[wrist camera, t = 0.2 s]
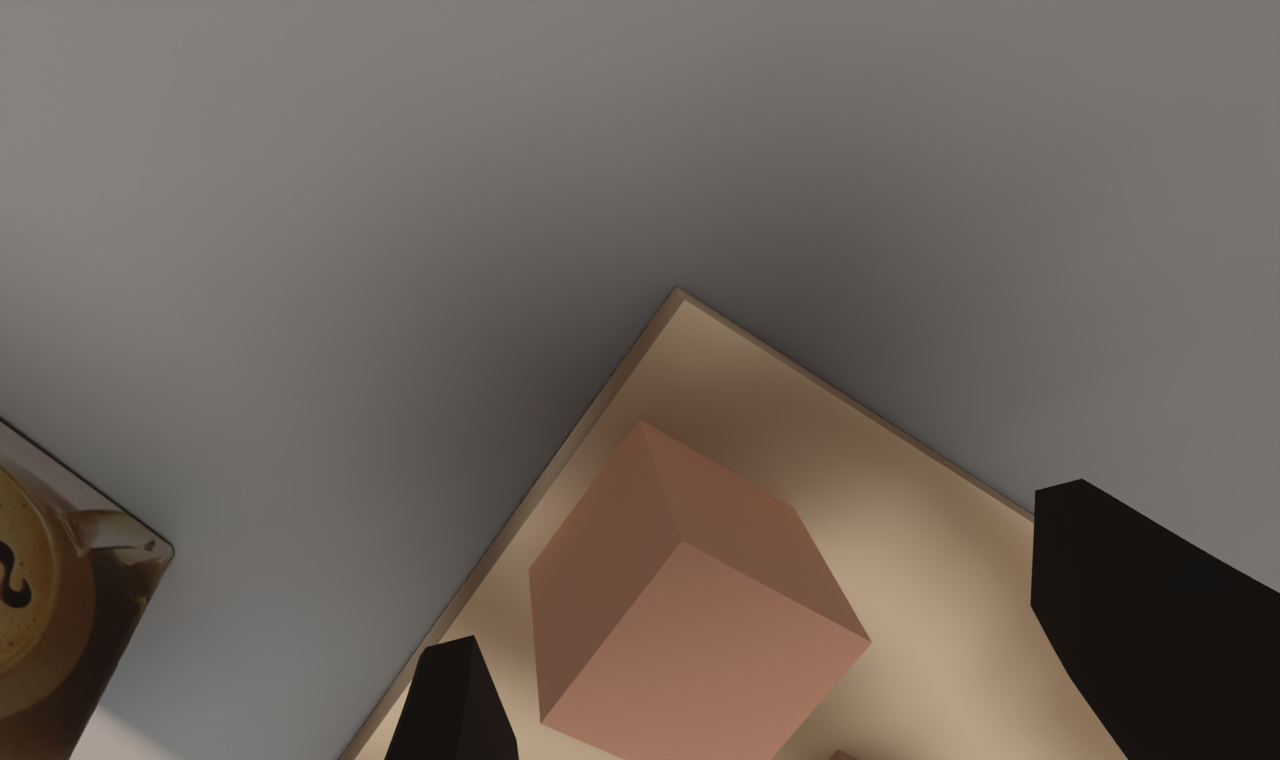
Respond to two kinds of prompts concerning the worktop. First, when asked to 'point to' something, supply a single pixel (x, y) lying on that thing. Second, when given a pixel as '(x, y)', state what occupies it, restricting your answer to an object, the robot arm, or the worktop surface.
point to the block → (684, 612)
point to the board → (845, 536)
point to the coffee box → (63, 598)
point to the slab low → (842, 756)
